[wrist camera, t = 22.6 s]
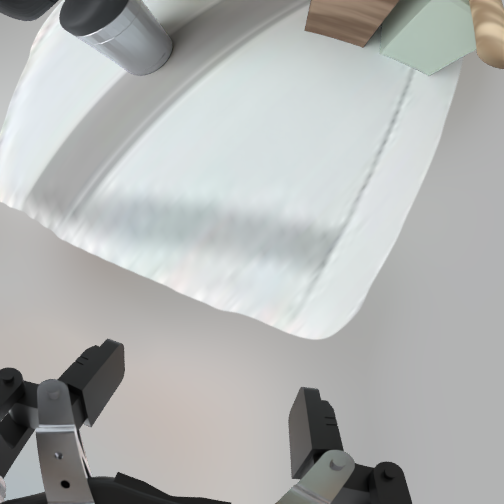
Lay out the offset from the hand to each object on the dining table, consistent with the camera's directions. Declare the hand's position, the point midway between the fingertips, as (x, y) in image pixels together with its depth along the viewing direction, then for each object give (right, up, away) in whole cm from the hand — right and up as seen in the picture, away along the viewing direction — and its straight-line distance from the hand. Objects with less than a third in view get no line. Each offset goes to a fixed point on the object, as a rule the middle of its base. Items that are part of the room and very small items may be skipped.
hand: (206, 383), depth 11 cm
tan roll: (+28, +35, +1) cm, 45 cm away
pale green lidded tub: (+29, +43, +22) cm, 57 cm away
